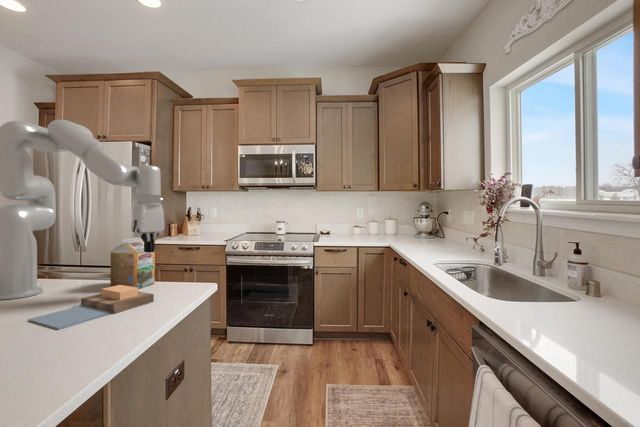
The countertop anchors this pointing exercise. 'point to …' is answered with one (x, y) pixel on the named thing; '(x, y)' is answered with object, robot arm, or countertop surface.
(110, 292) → the tile
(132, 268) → the milk carton
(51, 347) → the countertop surface
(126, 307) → the stand
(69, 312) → the mat
